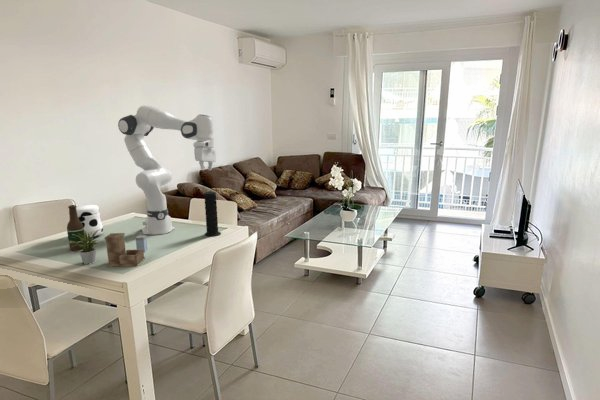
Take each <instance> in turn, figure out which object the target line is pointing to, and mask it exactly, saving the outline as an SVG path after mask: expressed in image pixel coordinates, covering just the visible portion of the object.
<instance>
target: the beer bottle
mask: <svg viewBox="0 0 600 400" xmlns="http://www.w3.org/2000/svg"><path fill="white" fill-rule="evenodd" d="M76 206H77V205H75V204H71V205H68V207H67V208H68V214H69V221H68V222H67V225H66V231H67V238H68V240H67V241H68V246H69V250H70V251H71V252H72V251H73V252H76V251H78V252H79V251H80V250H82V248H81V247H79V246H73V245H76V244H74V243H72V242H69V241H75V242H79V243H81V244H83V243H82V242H83V241H81V240H80V239H79V238H78V237H77V236H76V235H78V236H80V237H81V238H83V237H84V227H83V224H82V222H81V221H80V220H79V219H78V215H77V210H76ZM78 233H79V234H78ZM72 234H75V235H72ZM80 234H81V235H82V236H83V237H82V236H81V235H80ZM73 237H74V238H73ZM83 245H84V244H83ZM72 246H73V247H72Z"/></svg>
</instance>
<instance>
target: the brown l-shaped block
mask: <svg viewBox="0 0 600 400" xmlns="http://www.w3.org/2000/svg"><path fill="white" fill-rule="evenodd" d="M104 240H105V244H106V252H107V261H108V262H107V264H106V267H107V266H121V267H138V266H139V265H140V264H141V263H142V262H143V261H144V260H145V255H144V254H145V252H143V249H138V250H137V249H126V242H125V232H118V233H117V232H116V233H114V232H113V233H112V232H111V233H109V234H108V235H106V236H105V237H104ZM143 259H144V260H143ZM142 260H143V261H142ZM141 261H142V262H141ZM140 262H141V263H140ZM139 263H140V264H139ZM138 264H139V265H138ZM137 265H138V266H137Z"/></svg>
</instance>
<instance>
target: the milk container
mask: <svg viewBox="0 0 600 400" xmlns="http://www.w3.org/2000/svg"><path fill="white" fill-rule="evenodd" d="M76 210H77V215H78V219H79V220H80V221H81V222H82V224H83V227H84V230H85V231H86V233H87V238H88V233H89V236H90V238H89V240H90V239H91V238H92V235H93V234H94V233H95V232H96V231H97V230H99V231H98V232H97V233H96V234H95V235H94V237H93V239H95V238H97V237H99V236H102V234H103V233H104V226H103V224H102V220H101V213H100V208H99V205H96V204H86V205H85V204H84V205H78V206H77V205H76ZM100 229H101V230H100ZM93 231H94V232H93ZM91 232H92V233H91ZM90 234H91V235H90ZM95 236H96V237H95Z"/></svg>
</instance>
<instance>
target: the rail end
mask: <svg viewBox="0 0 600 400" xmlns="http://www.w3.org/2000/svg"><path fill="white" fill-rule="evenodd" d="M147 241H148V240H147V234H143V235H137V236H136V237H135V244H136V245H135V246H136V250H138V249H143V252H144V253H146V252H147V251H148V242H147Z"/></svg>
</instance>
